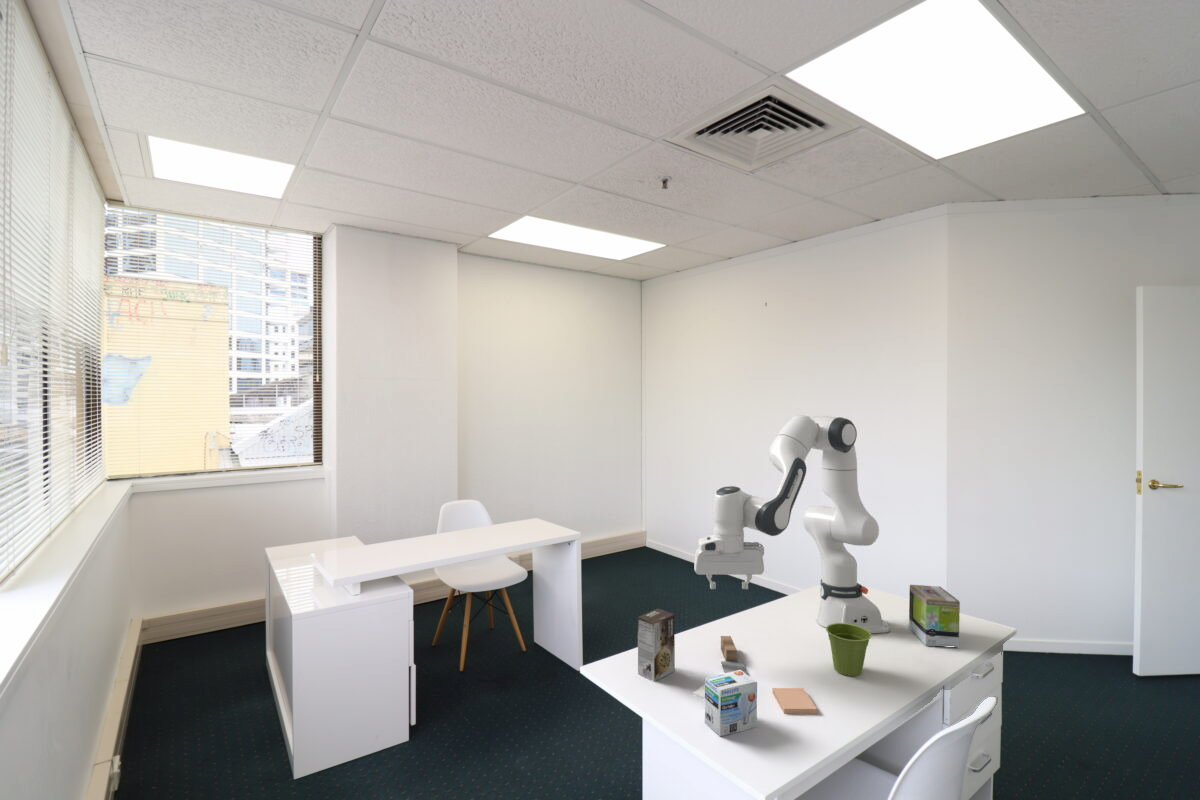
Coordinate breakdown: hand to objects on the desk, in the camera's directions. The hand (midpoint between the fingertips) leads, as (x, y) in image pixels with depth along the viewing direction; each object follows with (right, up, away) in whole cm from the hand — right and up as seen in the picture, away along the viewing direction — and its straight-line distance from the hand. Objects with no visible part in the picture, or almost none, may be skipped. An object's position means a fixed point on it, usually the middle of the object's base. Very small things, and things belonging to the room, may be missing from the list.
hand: (729, 588), depth 173 cm
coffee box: (-23, -20, -10) cm, 32 cm away
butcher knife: (-8, -21, -18) cm, 29 cm away
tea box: (+68, -20, +14) cm, 73 cm away
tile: (+11, -20, -21) cm, 31 cm away
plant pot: (+31, -20, -9) cm, 39 cm away
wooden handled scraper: (0, -20, -3) cm, 21 cm away
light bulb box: (-8, -21, -36) cm, 42 cm away
